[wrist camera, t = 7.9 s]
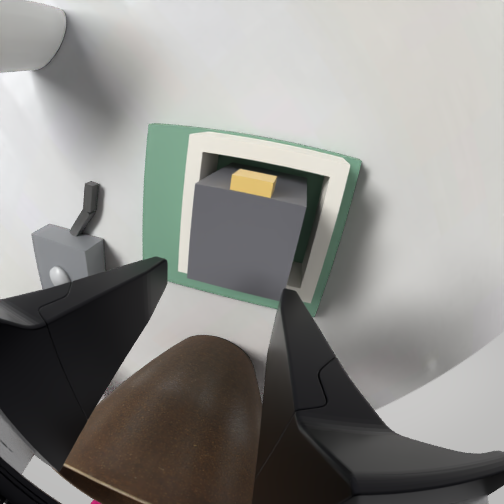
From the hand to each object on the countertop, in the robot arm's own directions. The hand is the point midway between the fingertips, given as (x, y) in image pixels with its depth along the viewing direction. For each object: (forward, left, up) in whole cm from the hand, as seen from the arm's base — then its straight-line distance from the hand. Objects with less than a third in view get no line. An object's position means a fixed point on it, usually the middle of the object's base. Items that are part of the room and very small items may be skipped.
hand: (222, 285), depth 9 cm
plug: (0, 0, -9) cm, 9 cm away
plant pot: (-16, +2, -10) cm, 19 cm away
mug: (+13, +23, -10) cm, 28 cm away
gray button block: (-7, +16, -10) cm, 20 cm away
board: (-2, +2, -10) cm, 10 cm away
